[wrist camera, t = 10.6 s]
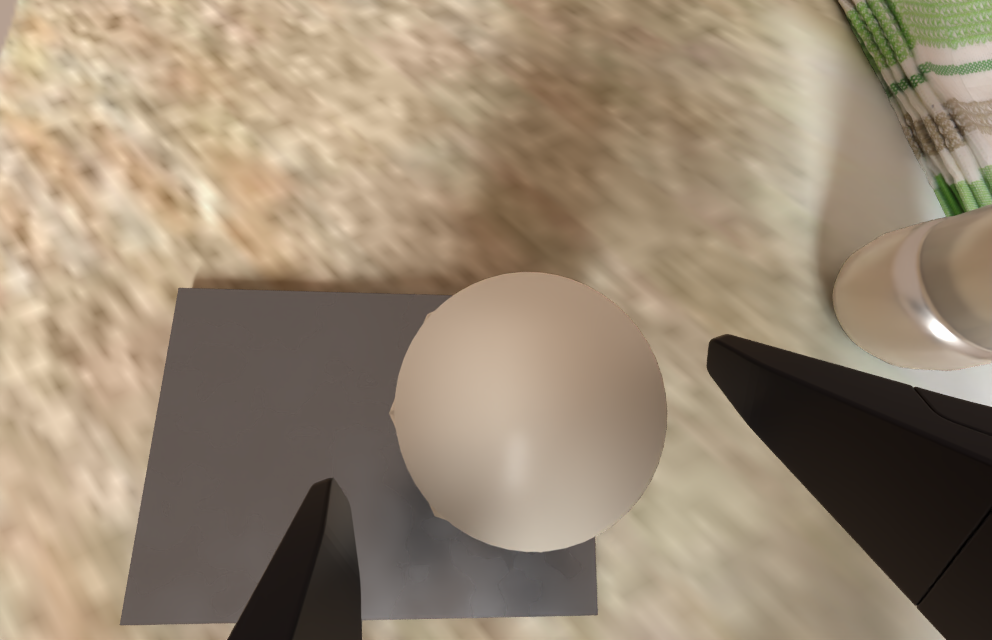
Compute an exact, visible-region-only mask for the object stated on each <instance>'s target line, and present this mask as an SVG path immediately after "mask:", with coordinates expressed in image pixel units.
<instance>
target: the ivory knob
mask: <svg viewBox="0 0 992 640" xmlns="http://www.w3.org/2000/svg"><path fill="white" fill-rule="evenodd" d="M389 414H390V417H391V419H392V421H393V423H394V426H395V428H396V433H397V437H398V442H399V446H400V450H401V453H402V456H403V459H404V461H405V464H406V467H407V469H408V471H409V473H410V475H411V477H412V479H413V481H414V482H415V484H416V486H417V487H418V489H419V490H420V492H421V493H422V494H423V496H424V497H425V499H426V500H427V501H428V502H429V505H430V507H431V509H432V511H433V514H434V516H436V517H439V518H441V519H444V520H447V521H448V522H450V523H451V524H452V525H453V526H455V527H456V528H458V529H459V530H461V531H463V532H464V533H466V534H468V535H469V536H471V537H473V538H475V539H477V540H480V541H482V542H484V543H487V544H489V545H493V546H496V547H500V548H504V549H508V550H515V551H523V552H540V553H541V552H545V551H552V550H558V549H564V548H568V547H571V546H574V545H577V544H580V543H583V542H585V541H587V540H589V539H591V538H593V537H595V536H597V535H599V534H601V533H602V532H604V531H605V530H607V529H608V528H610V527H611V526H613V525H614V524H616V523H617V522H618V521H619V520H620V519H621V518H622V517H623V516H624V515H625V514H626V513H628V512H629V511H630V509H631V508H632V507H633V506H634V505H635V503H636V502H637V501H638V500H639V499H640V497H641V496H642V494H643V493H644V491H645V490H646V488H647V486H648V485H649V483H650V482H651V479H652V477H653V475H654V473H655V471H656V468H657V466H658V464H659V460H660V457H661V454H662V450H663V447H664V441H665V435H666V429H667V403H666V393H665V388H664V383H663V379H662V375H661V372H660V369H659V366H658V363H657V360H656V358H655V356H654V354H653V352H652V350H651V348H650V346H649V344H648V342H647V340H646V339H645V337H644V336H643V334H642V333H641V331H640V330H639V328H638V327H637V326H636V325H635V323H634V322H633V321H632V320H631V319H630V317H629V316H628V315H627V314H626V313H625V312H624V311H623V310H622V309H620V308H619V307H618V306H617V305H616V304H615V303H614V302H612V301H611V300H610V299H608V298H607V297H606V296H604V295H603V294H601V293H600V292H598V291H596V290H594V289H593V288H591V287H589V286H587V285H585V284H582V283H580V282H578V281H575V280H573V279H570V278H566V277H562V276H559V275H555V274H548V273H541V272H517V273H508V274H502V275H498V276H494V277H490V278H487V279H484V280H482V281H479V282H476V283H474V284H472V285H470V286H468V287H466V288H464V289H463V290H461V291H459V292H457V293H456V294H455V295H453V296H452V297H450V298H449V299H448V300H446V301H445V302H444V303H443V304H442V305H440V306H439V307H438V308H437V309H436V310H435V311H433V312H431V313H429V314H427V316H426V318H425V321H424V323H423V325H422V326H421V327H420V329H419V331H418V332H417V334H416V335H415V337H414V338H413V340H412V342H411V344H410V346H409V348H408V350H407V352H406V355H405V357H404V359H403V363H402V366H401V369H400V372H399V375H398V381H397V387H396V392H395V399H394V402H393V404H392V407H391V409H390V412H389Z"/></svg>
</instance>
